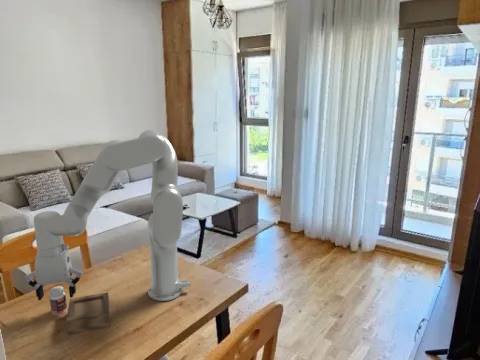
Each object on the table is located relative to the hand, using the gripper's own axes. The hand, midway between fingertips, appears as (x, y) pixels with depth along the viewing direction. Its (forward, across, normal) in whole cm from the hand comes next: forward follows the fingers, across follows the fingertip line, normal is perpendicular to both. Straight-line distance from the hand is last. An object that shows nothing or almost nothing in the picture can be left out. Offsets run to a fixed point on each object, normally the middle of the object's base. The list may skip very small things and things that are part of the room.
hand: (56, 296), depth 116 cm
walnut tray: (+6, -11, +6) cm, 14 cm away
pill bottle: (+6, 0, 0) cm, 6 cm away
